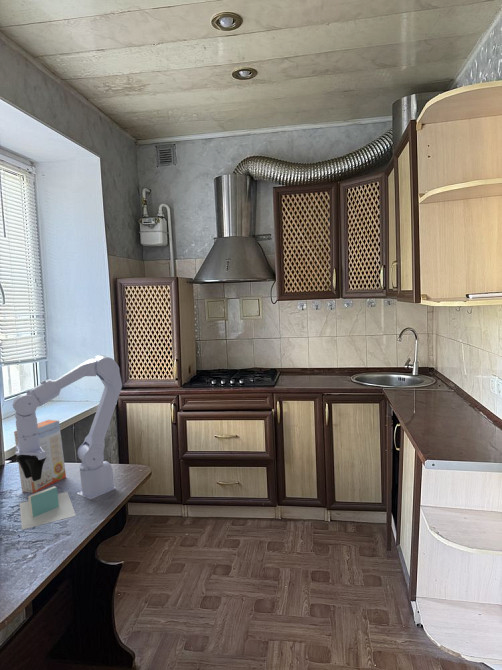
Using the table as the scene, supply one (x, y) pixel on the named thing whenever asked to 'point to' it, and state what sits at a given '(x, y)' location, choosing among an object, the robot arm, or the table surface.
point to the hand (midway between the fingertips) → (33, 478)
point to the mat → (50, 516)
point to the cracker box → (54, 457)
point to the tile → (43, 501)
